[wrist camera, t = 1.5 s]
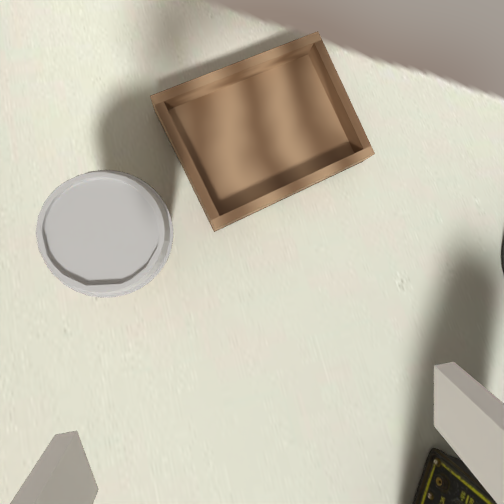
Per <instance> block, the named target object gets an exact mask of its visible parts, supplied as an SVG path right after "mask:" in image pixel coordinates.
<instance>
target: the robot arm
mask: <svg viewBox="0 0 504 504" xmlns="http://www.w3.org/2000/svg"><path fill="white" fill-rule="evenodd" d="M502 261H503V269H504V244H503V251H502ZM434 426H435V428H436V429H437V430H438V431H439V433H440V434H441V435H442V436H443V438H444V439H445V440H446V441H447V442H448V444H449V445H450V446H451V447H452V449H453V450H454V451H455V452H456V454H457V455H458V456H459V457H460V458H461V460H462V461H463V462H464V463H465V465H466V466H467V467H468V468H469V470H470V471H471V472H472V473H473V474H474V476H475V477H476V478H477V479H478V481H479V482H480V483H481V484H482V486H483V487H484V488H485V489H486V491H487V492H488V493H489V494H490V495H491V497H492V498H493V499H494V500H495V502H496V503H497V504H504V403H503V402H501V401H500V400H499V399H498V398H497V397H495V396H494V395H493V394H492V393H491V392H489V391H488V390H487V389H486V388H485V387H484V386H482V385H481V384H480V383H479V382H478V381H476V380H475V379H474V378H473V377H472V376H470V375H469V374H468V373H467V372H466V371H464V370H463V369H462V368H461V367H460V366H459V365H457V364H456V363H455V362H449V363H444V364H438V365H434ZM98 490H99V489H98V487H97V484H96V481H95V479H94V476H93V473H92V470H91V468H90V465H89V462H88V459H87V457H86V454H85V451H84V448H83V446H82V443H81V440H80V438H79V435H78V432H77V431H73V432H67V433H62V434H56V435H55V436H54V437H53V439H52V440H51V442H50V443H49V445H48V447H47V448H46V450H45V451H44V453H43V454H42V456H41V457H40V459H39V460H38V462H37V463H36V465H35V466H34V468H33V469H32V471H31V473H30V474H29V476H28V477H27V479H26V480H25V482H24V483H23V485H22V486H21V488H20V489H19V491H18V492H17V494H16V495H15V497H14V499H13V500H12V502H11V503H10V504H93V502H94V499H95V497H96V494H97V492H98Z"/></svg>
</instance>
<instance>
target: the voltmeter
mask: <svg viewBox="0 0 504 504" xmlns="http://www.w3.org/2000/svg"><path fill="white" fill-rule="evenodd" d="M413 504H497V503H496V502H495V500H494V499H493V498H492V497H491V495H490V494H489V493H488V492H487V491H486V489H485V488H484V487H483V486H482V484H481V483H480V482H479V481H478V479H477V478H476V477H475V476H474V474H473V473H472V472H471V471H470V470H469V468H468V467H467V466H466V465H465V463H464V462H463V461H462V460H460V459H457V458H454V457H451V456H448V455H447V454H445V453H444V452H443V451H441V450H439V449H436V448H433V449H432V450H431V451H430V453H429V456H428V459H427V462H426V466H425V469H424V472H423V475H422V478H421V481H420V484H419V487H418V490H417V494H416V497H415V500H414V503H413Z"/></svg>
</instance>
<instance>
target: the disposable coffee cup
mask: <svg viewBox="0 0 504 504" xmlns="http://www.w3.org/2000/svg"><path fill="white" fill-rule="evenodd" d="M36 237H37V242H38V248H39V252H40V254H41V256H42V257H43V259H44V262H45V264H46V265H47V267H48V268H49V269H50V271H51V272H52V274H53V275H54V276H55V277H56V278H58V279H59V280H60V281H61V282H62V283H63V284H64V285H66V286H68V287H69V288H71V289H73V290H75V291H77V292H80V293H82V294H85V295H88V296H95V297H116V296H122V295H126V294H129V293H132V292H134V291H136V290H138V289H140V288H142V287H143V286H145V285H146V284H148V283H149V282H150V281H151V280H152V279H153V278H154V277H155V276H156V275H157V274H158V273H159V272H160V271H161V269H162V268H163V266H164V265H165V263H166V262H167V260H168V257H169V254H170V251H171V248H172V242H173V226H172V220H171V216H170V213H169V211H168V209H167V206H166V204H165V203H164V201H163V200H162V198H161V197H160V196H159V194H158V193H157V192H156V191H155V190H154V189H153V188H152V187H151V186H149V185H148V184H147V183H146V182H144V181H142V180H141V179H139V178H137V177H135V176H132V175H130V174H127V173H124V172H119V171H113V170H99V171H92V172H88V173H85V174H81V175H78V176H76V177H74V178H71V179H69V180H67V181H66V182H64V183H63V184H61V185H60V186H58V187H57V188H56V189H55V190H54V191H53V192H52V193H51V194H50V196H49V197H48V198H47V199H46V201H45V202H44V204H43V206H42V209H41V211H40V213H39V215H38V221H37V228H36Z"/></svg>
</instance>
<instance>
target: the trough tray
mask: <svg viewBox="0 0 504 504" xmlns="http://www.w3.org/2000/svg"><path fill="white" fill-rule="evenodd" d="M150 97H151V101H152V104H153V107H154V110H155V112H156V114H157V116H158V118H159V120H160V122H161V124H162V126H163V128H164V131H165V133H166V135H167V137H168V139H169V141H170V143H171V145H172V147H173V149H174V151H175V153H176V155H177V157H178V159H179V161H180V163H181V165H182V167H183V169H184V171H185V173H186V175H187V177H188V179H189V181H190V183H191V185H192V188H193V190H194V192H195V194H196V196H197V198H198V200H199V202H200V204H201V206H202V208H203V210H204V212H205V214H206V216H207V218H208V220H209V222H210V224H211V226H212V228H213V230H214V232H215V231H217V230H219V229H221V228H224V227H226V226H228V225H230V224H232V223H234V222H236V221H238V220H240V219H243V218H245V217H247V216H249V215H251V214H253V213H255V212H257V211H259V210H262V209H264V208H266V207H268V206H270V205H272V204H274V203H276V202H278V201H281V200H283V199H285V198H287V197H289V196H291V195H293V194H295V193H297V192H300V191H302V190H304V189H306V188H308V187H310V186H312V185H314V184H316V183H319V182H321V181H323V180H325V179H327V178H329V177H331V176H333V175H335V174H338V173H340V172H342V171H344V170H346V169H348V168H350V167H352V166H354V165H357V164H359V163H361V162H363V161H364V160H366V159H367V158H369V157H370V156H372V155H374V154H375V153H374V151H373V149H372V147H371V144H370V142H369V140H368V138H367V136H366V134H365V132H364V129H363V127H362V125H361V123H360V121H359V119H358V116H357V114H356V112H355V110H354V108H353V106H352V104H351V101H350V99H349V97H348V95H347V93H346V91H345V88H344V86H343V84H342V82H341V80H340V78H339V76H338V73H337V71H336V69H335V67H334V65H333V63H332V61H331V58H330V56H329V54H328V52H327V50H326V48H325V45H324V43H323V41H322V39H321V37H320V35H319V33H318V32H315V33H312V34H310V35H307V36H304V37H302V38H299V39H297V40H294V41H291V42H289V43H286V44H284V45H281V46H278V47H276V48H273V49H271V50H268V51H265V52H263V53H260V54H258V55H255V56H252V57H250V58H247V59H245V60H242V61H239V62H237V63H234V64H232V65H229V66H226V67H224V68H221V69H219V70H216V71H213V72H211V73H208V74H206V75H203V76H200V77H198V78H195V79H193V80H190V81H187V82H185V83H182V84H180V85H177V86H174V87H172V88H169V89H167V90H164V91H161V92H159V93H156V94H154V95H151V96H150Z"/></svg>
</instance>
